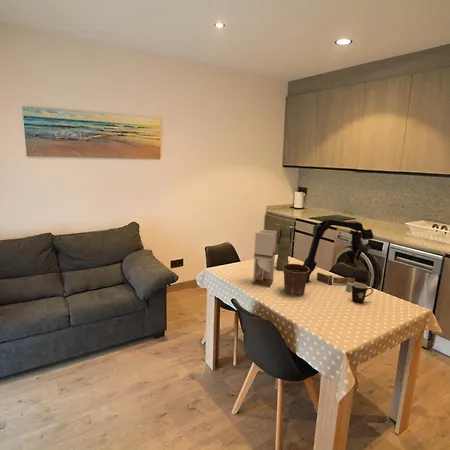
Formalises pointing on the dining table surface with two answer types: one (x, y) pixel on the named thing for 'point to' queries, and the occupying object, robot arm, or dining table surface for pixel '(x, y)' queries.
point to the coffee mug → (359, 292)
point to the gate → (343, 280)
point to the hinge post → (324, 278)
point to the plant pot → (295, 279)
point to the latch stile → (349, 287)
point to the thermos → (283, 245)
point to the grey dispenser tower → (264, 257)
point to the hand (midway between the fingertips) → (355, 262)
